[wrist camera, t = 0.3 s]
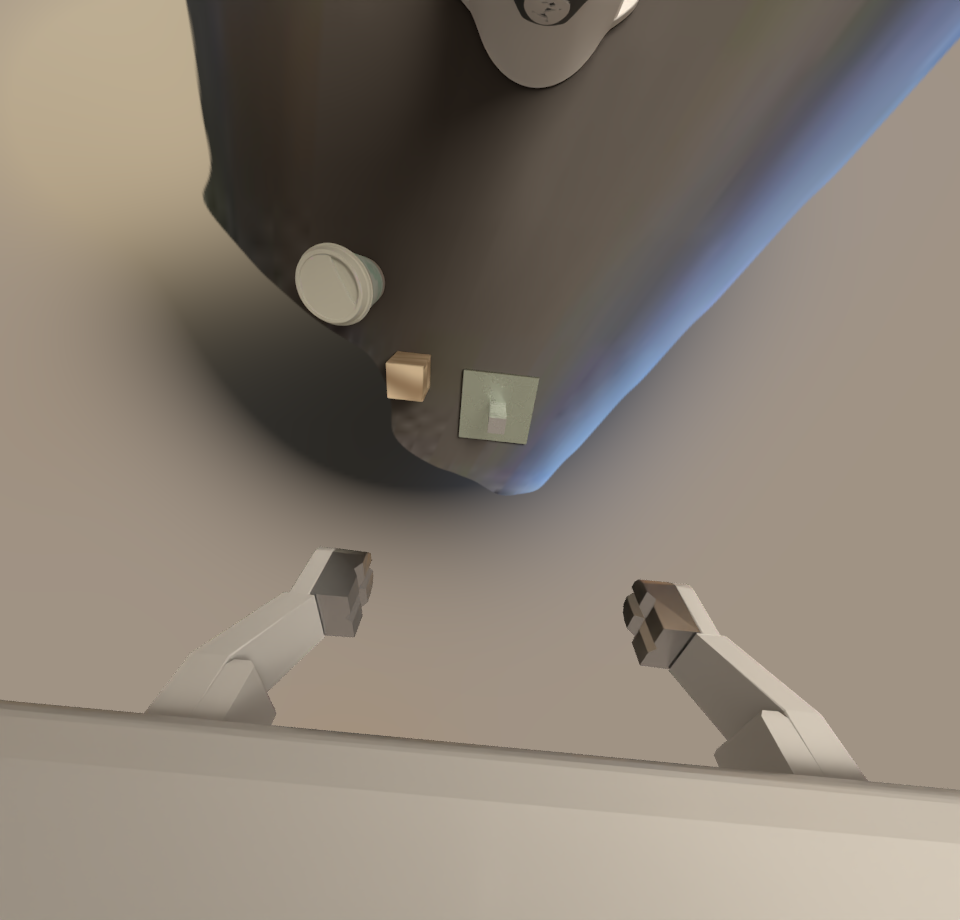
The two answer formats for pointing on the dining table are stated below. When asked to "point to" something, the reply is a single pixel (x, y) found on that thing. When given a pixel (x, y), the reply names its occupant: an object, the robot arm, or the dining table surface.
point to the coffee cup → (338, 283)
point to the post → (497, 406)
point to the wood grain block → (408, 376)
